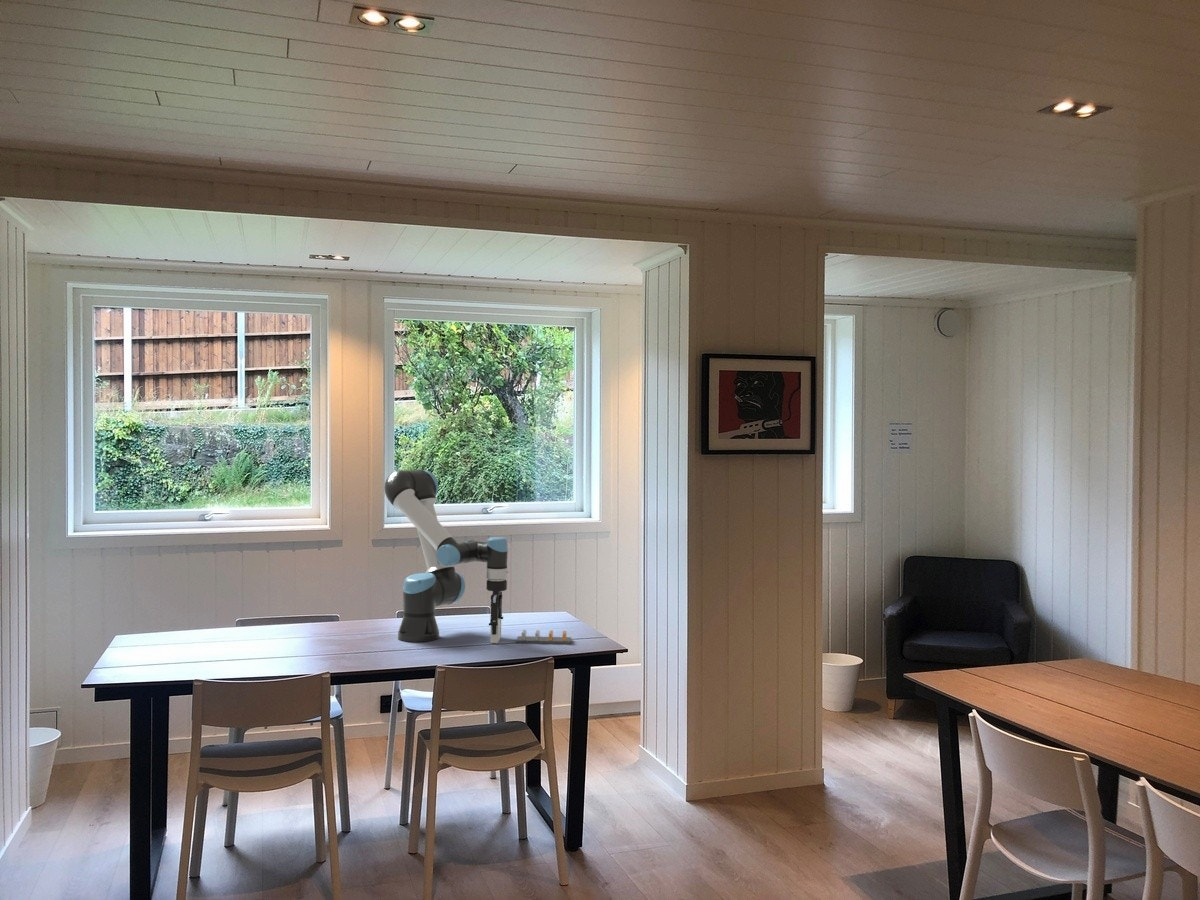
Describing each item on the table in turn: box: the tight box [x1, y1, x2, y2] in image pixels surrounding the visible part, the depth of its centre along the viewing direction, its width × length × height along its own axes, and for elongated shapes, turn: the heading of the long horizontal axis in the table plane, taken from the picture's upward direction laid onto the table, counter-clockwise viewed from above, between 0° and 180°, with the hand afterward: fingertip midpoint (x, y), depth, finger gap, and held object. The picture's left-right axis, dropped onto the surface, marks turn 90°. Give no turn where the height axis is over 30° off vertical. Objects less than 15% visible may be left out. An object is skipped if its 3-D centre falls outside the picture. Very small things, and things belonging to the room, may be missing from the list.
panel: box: [498, 618, 502, 643], centre depth 348 cm, size 2×8×8 cm, turn 0°
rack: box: [515, 629, 572, 645], centre depth 348 cm, size 20×7×4 cm, turn 90°
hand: (495, 639), depth 348 cm, fingers open, 9 cm apart
